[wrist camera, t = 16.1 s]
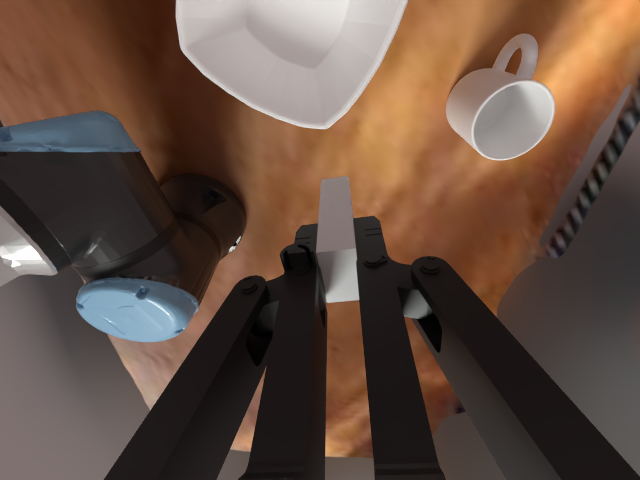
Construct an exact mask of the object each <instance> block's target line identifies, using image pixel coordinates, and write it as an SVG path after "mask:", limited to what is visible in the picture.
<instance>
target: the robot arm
mask: <svg viewBox="0 0 640 480" xmlns="http://www.w3.org/2000/svg"><path fill="white" fill-rule="evenodd" d="M140 152H141V150H140V149H139V147H136V145H135V144H134V142H133V141H132V139H131V138H130V136H129V135H128V133H127V132H126V130H125V128H124V127H123V125H122V124H121V122H120V121H119V120H118V119H117V118H116V117H114V116H113V115H111V114H109V113H107V112H104V111H89V112H84V113H78V114H72V115H67V116H61V117H56V118H50V119H45V120H39V121H34V122H28V123H23V124H18V125H13V126H7V127H1V128H0V286H2V285H3V284H5V283H7V282H9V281H10V280H12V279H14V278H16V277H17V276H19V275H24V274H40V275H55V274H57V273H58V272H60V271H62V270H63V269H65V268H66V267H68V266H70V265H72V266H73V267H74V268H75V270H76V271H77V272H78V273H79V274H80V275H81V276H82V278H83V279H84V280H85V281H86V284H85V285H84V286H82V287H81V289H80V290H79V292H78V296H77V298H76V300H77V303H76V307H77V310H78V312H79V313H80V314H81V316H82V317H83V318H84V319H85V320H86V321H87V322H88V323H90V324H91V325H92V326H94V327H96V328H97V329H99V330H101V331H103V332H106V333H107V334H110V335H113V336H115V337H119V338H123V339H127V340H132V341H138V342H158V341H164V340H168V339H171V338H173V337H175V336H177V335H179V334H180V333H182V332H183V331H184V330H185V329H186V327H187V326H188V324H189V322H190V321H191V319H192V317H193V315H194V314H195V313H196V312H197V311H198V309H199V305H200V303H201V301H202V298H203V296H204V294H205V292H206V289H207V287H208V285H209V283H210V280H211V278H212V276H213V274H214V271H215V269H216V267H217V265H218V262H219V261H220V260H221V259H222V258H224V257H225V256H226V255H227V254H228V253H230V252H231V251H232V250H233V249H234V248H235V247H236V246H237V245H238V244H239V242H240V240H241V238H242V236H243V234H244V231H245V227H246V216H245V212H244V209H243V206H242V204H241V203H240V201H239V199H238V198H237V197H236V195H235V194H234V193H233V192H232V191H231V190H230V189H228V188H227V187H226V186H225V185H223V184H222V183H220V182H218V181H216V180H214V179H212V178H209V177H206V176H202V175H197V174H184V175H179V176H176V177H173V178H171V179H169V180H168V181H167V182H165V183H164V184H163V185H162V186H161V187H159V185H158V183H157V181H156V180H155V178H154V176H153V174H152V173H151V171H150V169H149V167H148V165H147V164H146V162H145V160H144V158H143V157H142V155H141V153H140ZM280 258H281V261H282V264H283V267H284V274H283V275H281V276H280V277H278V278H275V279H272V280H269V281H267V282H266V281H265V279H264V278H263V277H261V276H257V275H256V276H249V277H246V278H244V279H242V280H240V281H239V282H238V283H237V284H236V285H235V286H234V288H233V289H232V291H231V292H230V294H229V295H228V296H227V298H226V299H225V301H224V302H223V304H222V305H221V307H220V308H219V310H218V311H217V313H216V314H215V316H214V317H213V319H212V320H211V322H210V323H209V325H208V326H207V328H206V329H205V331H204V332H203V334H202V335H201V336H200V338H199V339H198V341H197V342H196V344H195V345H194V347H193V348H192V350H191V351H190V353H189V354H188V356H187V357H186V359H185V360H184V362H183V363H182V365H181V366H180V368H179V369H178V371H177V372H176V374H175V375H174V376H173V378H172V379H171V381H170V382H169V384H168V385H167V387H166V388H165V390H164V391H163V393H162V394H161V396H160V397H159V399H158V400H157V402H156V403H155V405H154V406H153V408H152V409H151V411H150V412H149V414H148V415H147V417H146V418H145V419H144V421H143V422H142V424H141V425H140V427H139V428H138V430H137V431H136V433H135V435H134V436H133V437H132V439H131V440H130V442H129V443H128V445H127V446H126V448H125V449H124V451H123V452H122V454H121V455H120V456H119V458H118V459H117V461H116V462H115V464H114V465H113V467H112V468H111V470H110V471H109V473H108V474H107V476H106V477H105V479H104V480H216V479H217V477H218V475H219V473H220V470H221V468H222V465H223V464H224V461H225V459H226V457H227V454H228V452H229V450H230V448H231V445H232V443H233V441H234V439H235V436H236V434H237V432H238V429H239V427H240V425H241V423H242V420H243V418H244V416H245V414H246V411H247V409H248V407H249V404H250V402H251V400H252V398H253V395H254V393H255V391H256V389H257V386H258V384H259V382H260V379H261V377H262V375H263V373H264V370H265V368H266V373H265V378H264V383H263V389H262V394H261V399H260V405H259V410H258V415H257V421H256V426H255V431H254V437H253V442H252V447H251V453H250V458H249V463H248V467H247V470H246V472H245V473H244V474H243V475H242V476H241V477H240V478H239V479H238V480H325V429H326V364H327V309H326V305H325V301H326V300H327V303H331V302H342V301H352V300H359V302H360V313H361V324H362V335H363V346H364V357H365V368H366V379H367V390H368V401H369V413H370V424H371V435H372V446H373V457H374V470H375V480H446V479H445V476H444V473H443V472H442V470H441V469H440V466H439V463H438V459H437V455H436V451H435V447H434V443H433V438H432V434H431V430H430V426H429V421H428V417H427V413H426V409H425V404H424V400H423V396H422V392H421V387H420V383H419V379H418V375H417V370H416V366H415V362H414V358H413V353H412V349H411V345H410V341H409V336H408V332H407V328H406V324H405V319H404V316H405V317H411V318H412V320H413V322H414V324H415V326H416V327H417V329H418V331H419V333H420V334H421V336H422V338H423V339H424V341H425V343H426V344H427V346H428V348H429V349H430V351H431V353H432V354H433V356H434V358H435V360H436V361H437V363H438V365H439V366H440V368H441V370H442V371H443V373H444V375H445V376H446V378H447V380H448V381H449V383H450V385H451V387H452V388H453V390H454V392H455V393H456V395H457V397H458V398H459V400H460V402H461V403H462V405H463V407H464V408H465V410H466V412H467V413H468V415H469V417H470V419H471V420H472V422H473V424H474V425H475V427H476V429H477V430H478V432H479V434H480V436H481V437H482V439H483V440H484V442H485V444H486V446H487V447H488V449H489V451H490V452H491V454H492V456H493V457H494V459H495V460H496V463H497V464H498V466H499V468H500V469H501V471H502V473H503V474H504V476H505V478H506V479H507V480H640V476H639V475H638V474H637V473H636V472H635V471H634V470H633V469H632V468H631V466H630V465H629V464H628V463H627V462H626V461H625V460H624V459H623V458H622V456H621V455H620V454H619V453H618V452H617V451H616V450H615V449H614V447H613V446H612V445H611V444H610V443H609V442H608V441H607V440H606V439H605V437H604V436H603V435H602V434H601V433H600V432H599V431H598V430H597V429H596V427H595V426H594V425H593V424H592V423H591V422H590V421H589V420H588V419H587V417H586V416H585V415H584V414H583V413H582V412H581V411H580V410H579V409H578V408H577V406H576V405H575V404H574V403H573V402H572V401H571V400H570V399H569V397H568V396H567V395H566V394H565V393H564V392H563V391H562V390H561V389H560V388H559V386H558V385H557V384H556V383H555V382H554V381H553V380H552V379H551V377H550V376H549V375H548V374H547V373H546V372H545V371H544V370H543V369H542V368H541V366H540V365H539V364H538V363H537V362H536V361H535V360H534V359H533V357H532V356H531V355H530V354H529V353H528V352H527V351H526V350H525V349H524V347H523V346H522V345H521V344H520V343H519V342H518V341H517V340H516V339H515V337H514V336H513V335H512V334H511V333H510V332H509V331H508V330H507V329H506V327H505V326H504V325H503V324H502V323H501V322H500V321H499V320H498V319H497V317H496V316H495V315H494V314H493V313H492V312H491V311H490V310H489V309H488V307H487V306H486V305H485V304H484V303H483V302H482V301H481V300H480V299H479V297H478V296H477V295H476V294H475V293H474V292H473V291H472V290H471V289H470V287H469V286H468V285H467V284H466V283H465V282H464V281H463V280H462V278H461V277H460V276H459V275H458V274H457V273H456V272H455V271H454V270H453V268H452V267H451V266H450V265H449V264H448V263H447V262H446V261H444V260H443V259H440V258H438V257H432V256H426V257H421V258H418V259H416V260H415V261H414V262H413V263H412V265H407V264H401V263H398V262H395V261H393V260H392V259H391V258H390V257H389V256H388V254H387V251H386V246H385V242H384V238H383V234H382V229H381V225H380V221H379V220H378V219H377V218H376V217H375V216H369V217H361V218H354V217H353V209H352V201H351V193H350V185H349V176H344V177H337V178H330V179H323V180H321V190H320V204H319V218H318V224H310V225H302V226H301V227H300V228H299V229H298V230H297V232H296V236H295V242H294V244H291V245H289V246H287V247H286V248H284V249H283V250H282V251H281V253H280ZM266 366H267V367H266Z"/></svg>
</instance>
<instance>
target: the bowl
mask: <svg viewBox="0 0 640 480" xmlns="http://www.w3.org/2000/svg"><path fill="white" fill-rule="evenodd" d="M407 2H408V0H176V22H177V29H178V36H179V43H180V48H181V50H182V52H183V53H184V55H185V56H186V57H187V58H188V59H189V60H190V61H191V62H192V63H193V64H194V65H195V66H196V67H197V68H198V69H199V71H200V72H201V73H202V74H203V75H205V76H206V77H207V78H209V79H210V80H211V81H213V82H214V83H215V84H217V85H218V86H219V87H221V88H222V89H224V90H225V91H226V92H228V93H229V94H231V95H232V96H234V97H235V98H237V99H239V100H240V101H242V102H244V103H245V104H247V105H248V106H250V107H252V108H254V109H256V110H258V111H260V112H263V113H265V114H267V115H270V116H272V117H274V118H276V119H279V120H282V121H285V122H288V123H291V124H294V125H297V126H300V127H306V128H316V129H327V128H329V127H330V126H331V125H333V124H334V123H335V122H336V121H337V120H338V119H340V118H341V117H342V116H343V115H344V114H345V113H347V111H348V110H349V109H350V108H351V106H352V105H353V104H354V102H355V101H356V100H357V99H358V97H359V96H360V95H361V94H362V92H363V91H364V89H365V88H366V86H367V84H368V83H369V81H370V80H371V78H372V77H373V75H374V74H375V72H376V70H377V69H378V67H379V66H380V64H381V62H382V60H383V58H384V56H385V54H386V52H387V50H388V48H389V46H390V43H391V41H392V39H393V37H394V35H395V33H396V31H397V29H398V26H399V24H400V21H401V18H402V16H403V13H404V10H405V7H406V5H407Z"/></svg>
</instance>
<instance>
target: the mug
mask: <svg viewBox="0 0 640 480" xmlns="http://www.w3.org/2000/svg"><path fill="white" fill-rule="evenodd" d="M518 48H521V51H522V58H521V62H520V66H519V68H518V71H517V73H516V75H515V74H512V73H508V72H505V69H506V66H507V64H508V62H509V60H510V58H511V56H512V55H513V53H514V52H515V51H516V50H517V49H518ZM537 59H538V44H537V42H536V40H535V38H534V37H533V36H532V35H530V34H527V33H524V34H519V35H516V36H515V37H513V38H512V39H510V40H509V41H508V42H507V43H506V45H505V46H504V47H503V48H502V50H501V51H500V53H499V55H498V57H497V58H496V61H495V63H494V65H493V67H492V68H483V69H478V70H475V71H473V72H471V73H469V74H467V75H465V76H464V77H463V78H462V79H461V80H459V81H458V82H457V84H456V85H455V86H454V87H453V89H452V91H451V92H450V94H449V97H448V100H447V103H446V116H447V120H448V122H449V124H450V126H451V127H452V128H453V129H454V130H455V131H456V132H457V133H458V134H459V135H460V136H461V137H462V138H463V139H464V140H466V141H467V142H468V143H469V144H470V145H471V146H472V147H473V148H474V149H475V150H477V151H478V152H479V153H480V154H481V155H483V156H484V157H486V158H489V159H492V160H507V159H512V158H515V157H518V156H520V155H522V154H524V153H526V152H527V151H529V150H530V149H532V148H533V147H534V146H535V145H536V144H538V143H539V142H540V140H541V139H542V138H543V137H544V136H545V134H546V133H547V131H548V130H549V128H550V126H551V124H552V121H553V118H554V114H555V101H554V98H553V95H552V93H551V91H550V90H549V89H548V88H547V87H546V86H545V85H544V84H542V83H540V82H538V81H535V80H532V77H533V74H534V71H535V68H536V64H537Z"/></svg>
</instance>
